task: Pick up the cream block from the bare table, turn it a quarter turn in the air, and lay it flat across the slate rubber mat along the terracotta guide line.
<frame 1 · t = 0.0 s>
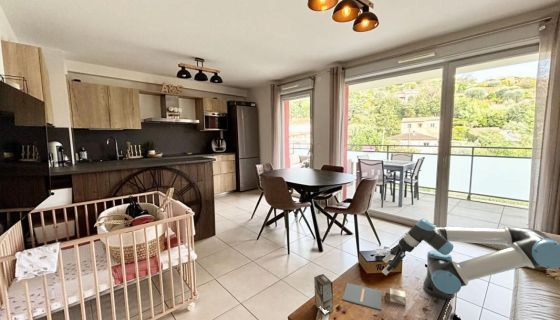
hand: (384, 267, 134), 15 cm above the table, tool tilted 35°, fingers open, 13 cm apart
coffee box: (323, 308, 124), on the table
cream block: (395, 299, 128), on the table
mat: (362, 295, 132), on the table
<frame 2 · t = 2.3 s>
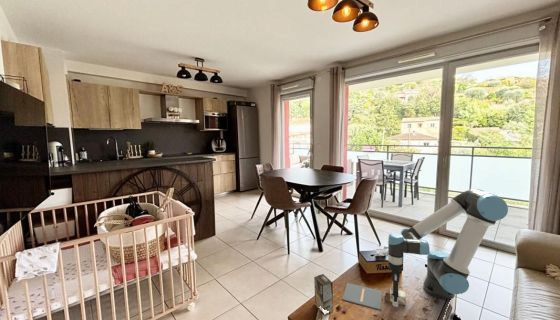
hand: (395, 298, 128), 1 cm above the table, tool pointing down, fingers open, 13 cm apart
nothing on the table moved.
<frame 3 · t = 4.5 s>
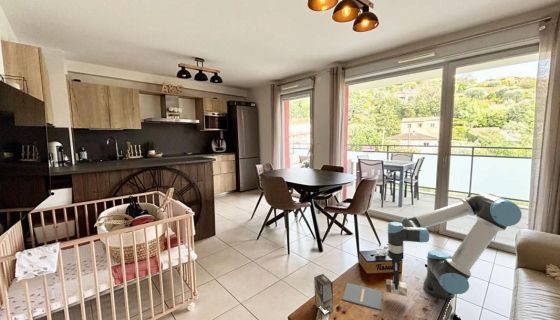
hand: (396, 290, 128), 5 cm above the table, tool pointing down, fingers closed on cream block, 5 cm apart
cream block: (396, 291, 128), point 5 cm above the table, touching gripper
everything else where it was.
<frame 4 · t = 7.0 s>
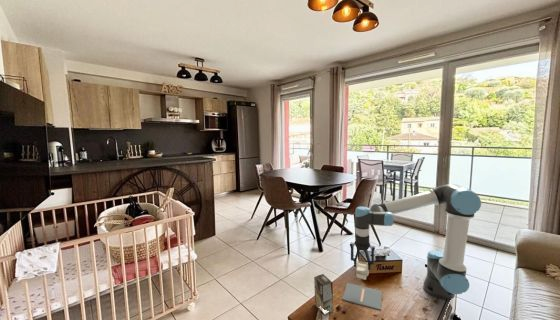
hand: (362, 273, 131), 14 cm above the table, tool pointing down, fingers closed on cream block, 5 cm apart
cream block: (362, 273, 131), point 13 cm above the table, touching gripper
everything else where it was.
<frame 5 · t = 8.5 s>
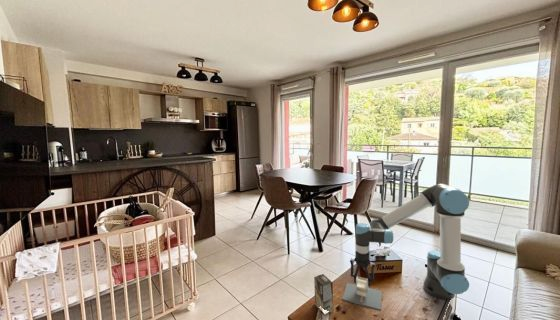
hand: (362, 289, 132), 4 cm above the table, tool pointing down, fingers closed on cream block, 5 cm apart
cream block: (362, 289, 132), point 4 cm above the table, touching gripper
everything else where it was.
when the fingers open (2 cm above the table, at t = 9.7 s): cream block stays where it is, resting on mat.
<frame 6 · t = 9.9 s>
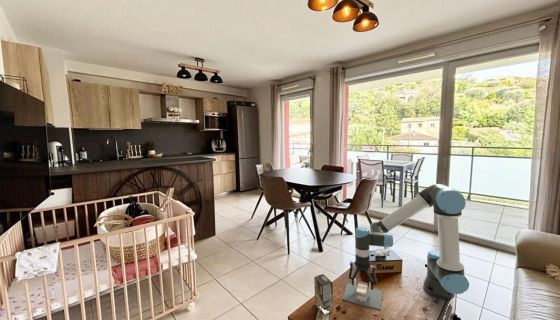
hand: (362, 292, 132), 2 cm above the table, tool pointing down, fingers open, 8 cm apart
cream block: (362, 294, 132), point 1 cm above the table, touching mat
everything else where it was.
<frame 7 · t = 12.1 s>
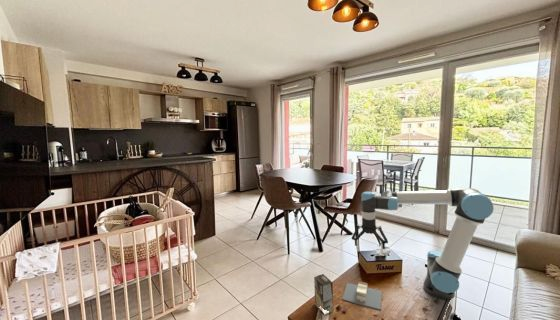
hand: (369, 252, 138), 22 cm above the table, tool pointing down, fingers open, 13 cm apart
nothing on the table moved.
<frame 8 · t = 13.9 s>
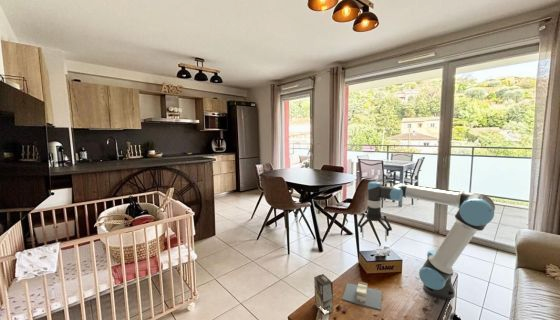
hand: (374, 238, 146), 27 cm above the table, tool pointing down, fingers open, 13 cm apart
nothing on the table moved.
at the end: cream block inside the target area on the mat (0.1 cm from its centre), point 0.6 cm above the mat's base; cream block tilted 0°; cream block touching mat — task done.
